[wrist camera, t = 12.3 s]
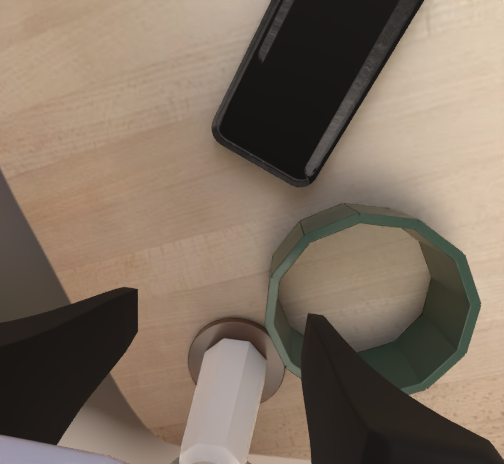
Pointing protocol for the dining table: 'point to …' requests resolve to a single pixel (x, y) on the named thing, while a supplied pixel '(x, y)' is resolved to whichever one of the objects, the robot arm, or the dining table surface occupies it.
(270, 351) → the coaster
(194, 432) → the salt shaker
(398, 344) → the green polygonal ring
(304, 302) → the dining table surface
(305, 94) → the phone
